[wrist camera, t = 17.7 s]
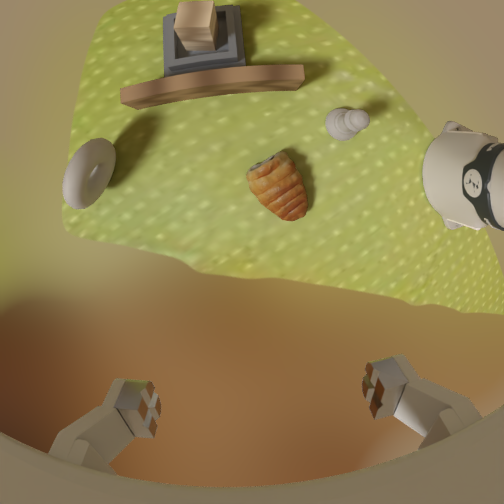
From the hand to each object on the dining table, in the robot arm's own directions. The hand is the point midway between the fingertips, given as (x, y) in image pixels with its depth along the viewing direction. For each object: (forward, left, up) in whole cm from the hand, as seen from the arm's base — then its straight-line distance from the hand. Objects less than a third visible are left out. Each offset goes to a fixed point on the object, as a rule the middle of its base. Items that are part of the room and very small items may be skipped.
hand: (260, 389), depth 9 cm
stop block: (+4, -26, -30) cm, 40 cm away
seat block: (+4, -26, -31) cm, 41 cm away
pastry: (-5, -4, -32) cm, 32 cm away
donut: (+20, -9, -31) cm, 38 cm away
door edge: (+3, -18, -31) cm, 36 cm away
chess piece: (-14, -12, -31) cm, 36 cm away
